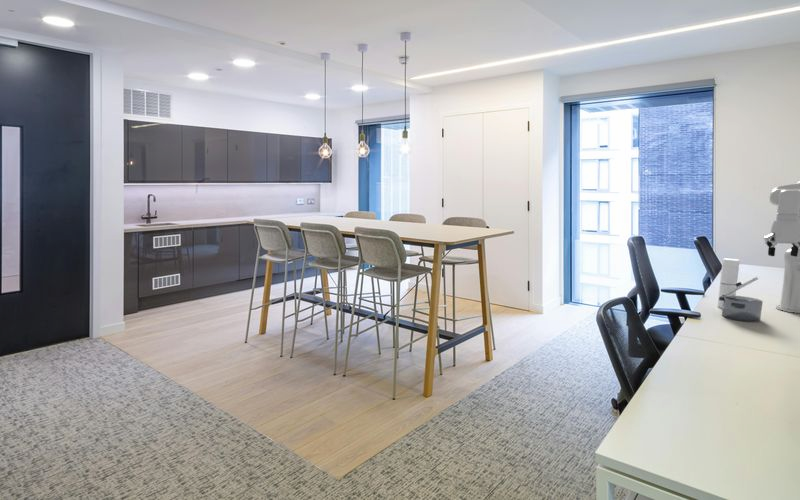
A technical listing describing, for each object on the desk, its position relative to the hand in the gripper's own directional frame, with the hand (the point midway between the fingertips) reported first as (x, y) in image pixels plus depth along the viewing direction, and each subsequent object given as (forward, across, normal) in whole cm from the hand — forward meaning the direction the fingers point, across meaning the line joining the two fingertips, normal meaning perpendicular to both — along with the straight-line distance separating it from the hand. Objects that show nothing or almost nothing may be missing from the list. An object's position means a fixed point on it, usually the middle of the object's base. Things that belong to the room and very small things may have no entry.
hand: (782, 255), depth 220 cm
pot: (+31, +11, -6) cm, 33 cm away
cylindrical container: (+32, +6, -26) cm, 42 cm away
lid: (+17, +12, -8) cm, 22 cm away
